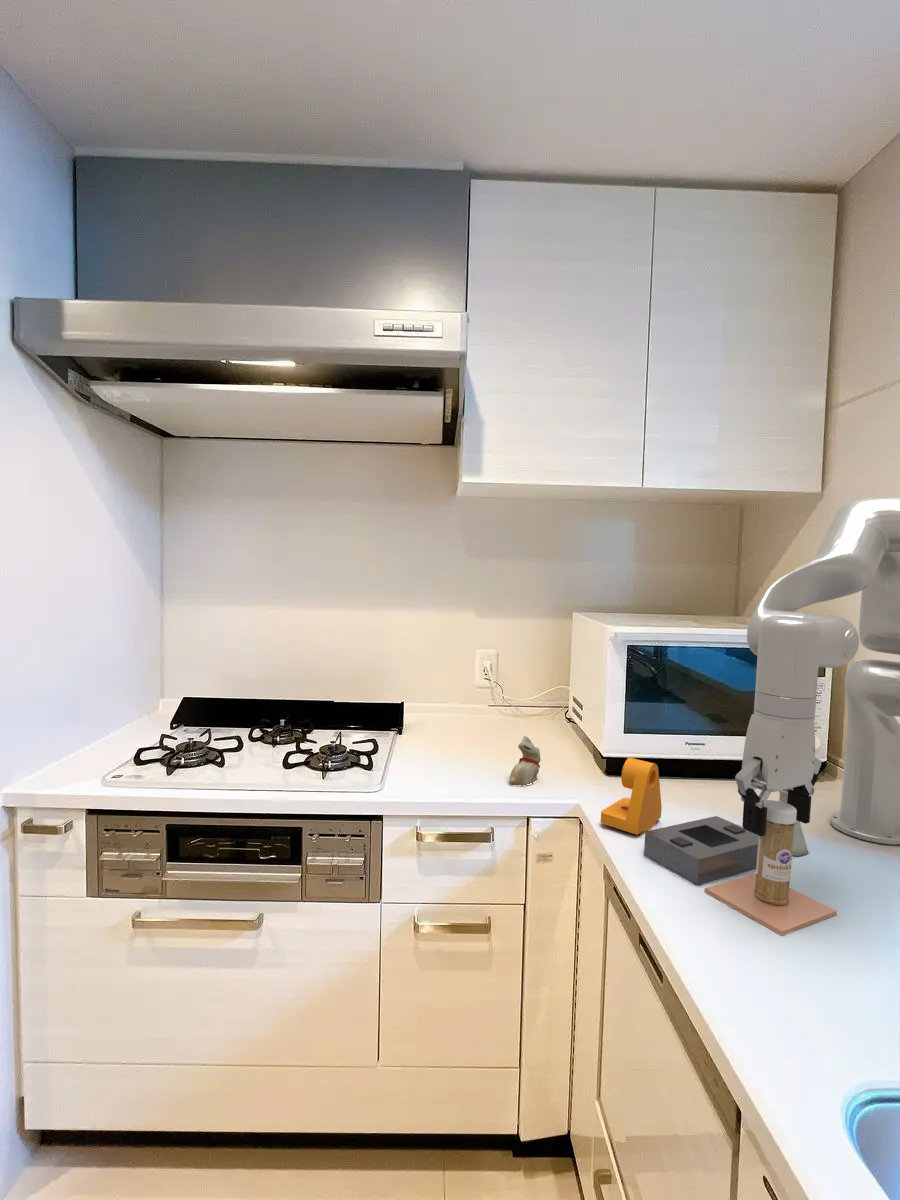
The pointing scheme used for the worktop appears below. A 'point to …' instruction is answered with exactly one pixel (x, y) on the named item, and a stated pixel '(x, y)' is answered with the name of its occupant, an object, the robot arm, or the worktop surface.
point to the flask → (795, 831)
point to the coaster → (770, 906)
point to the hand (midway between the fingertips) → (776, 825)
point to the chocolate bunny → (526, 764)
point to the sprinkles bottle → (775, 854)
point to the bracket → (636, 799)
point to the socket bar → (703, 849)
